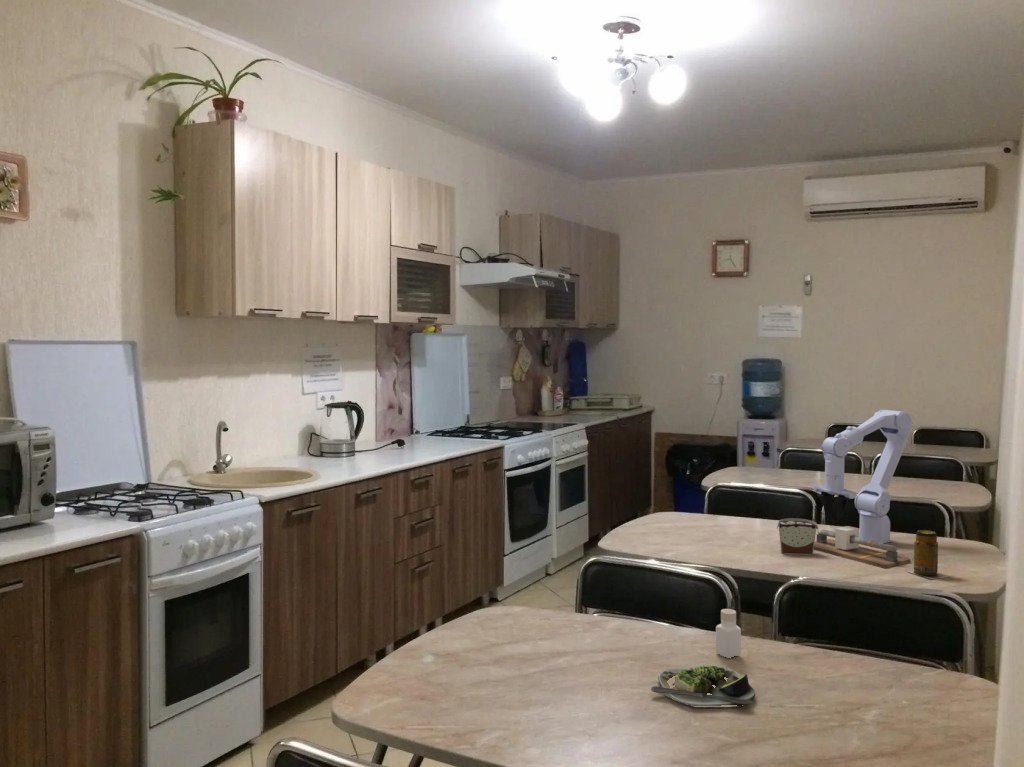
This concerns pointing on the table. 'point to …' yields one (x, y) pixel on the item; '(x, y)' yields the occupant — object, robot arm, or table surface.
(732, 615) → the salt shaker
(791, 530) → the food container
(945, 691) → the table surface
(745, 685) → the salad plate
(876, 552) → the wooden slider rail
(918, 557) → the condiment
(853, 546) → the collar
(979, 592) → the table surface
